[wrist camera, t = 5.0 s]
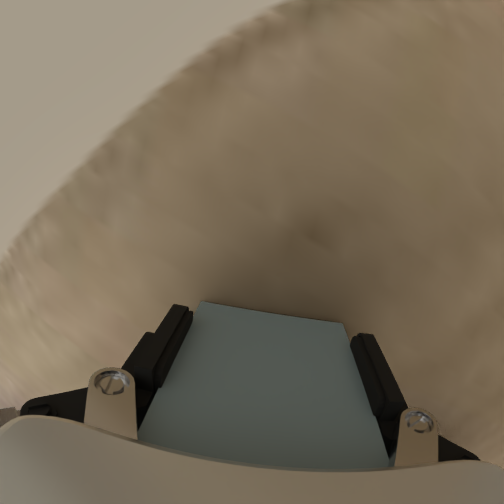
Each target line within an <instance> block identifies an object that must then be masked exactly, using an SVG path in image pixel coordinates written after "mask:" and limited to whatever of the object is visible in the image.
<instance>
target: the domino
mask: <svg viewBox="0 0 504 504" xmlns="http://www.w3.org/2000/svg"><path fill="white" fill-rule="evenodd" d="M138 439H139V440H140V441H143V442H147V443H151V444H155V445H159V446H162V447H166V448H170V449H174V450H179V451H183V452H187V453H192V454H197V455H202V456H207V457H212V458H218V459H224V460H230V461H237V462H244V463H251V464H260V465H269V466H280V467H293V468H313V469H363V468H382V467H388V464H389V458H388V455H387V452H386V448H385V445H384V442H383V439H382V435H381V432H380V429H379V426H378V423H377V420H376V417H375V416H373V413H372V410H371V407H370V404H369V401H368V398H367V395H366V392H365V389H364V386H363V383H362V380H361V377H360V374H359V371H358V368H357V365H356V362H355V360H354V357H353V354H352V351H351V348H350V342H349V339H348V336H347V334H346V331H345V328H344V326H343V323H337V322H329V321H321V320H314V319H307V318H300V317H293V316H286V315H280V314H273V313H267V312H261V311H255V310H249V309H243V308H237V307H231V306H225V305H220V304H214V303H209V302H203V301H201V302H200V304H199V306H198V308H197V310H196V312H195V314H194V316H193V322H192V324H191V327H190V329H189V331H188V333H187V335H186V337H185V339H184V341H183V343H182V345H181V347H180V350H179V352H178V354H177V356H176V358H175V360H174V362H173V364H172V366H171V369H170V371H169V373H168V375H167V377H166V379H165V381H164V383H163V386H162V388H158V390H157V392H156V394H155V397H154V399H153V401H152V403H151V405H150V407H149V409H148V411H147V413H146V416H145V418H144V420H143V422H142V424H141V426H140V428H139V431H138Z"/></svg>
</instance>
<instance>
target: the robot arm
mask: <svg viewBox="0 0 504 504" xmlns="http://www.w3.org/2000/svg"><path fill="white" fill-rule="evenodd" d="M192 322H193V311H189V308H188V307H187V306H182V305H177V304H173V306H172V307H171V309H170V310H169V312H168V313H167V315H166V316H165V318H164V319H163V321H162V322H161V324H160V326H159V327H158V329H157V330H156V332H155V333H151V332H146V333H145V334H144V336H143V337H142V338H141V340H140V341H139V343H138V344H137V346H136V347H135V349H134V350H133V352H132V353H131V354H130V356H129V357H128V359H127V360H126V362H125V363H124V365H123V366H122V368H121V369H120V368H114V367H110V368H103V369H100V370H98V371H96V372H94V374H93V375H92V376H91V377H90V380H89V385H88V387H87V388H83V389H78V390H73V391H69V392H64V393H59V394H54V395H49V396H43V397H38V398H34V399H31V400H29V401H27V402H26V403H25V404H24V405H23V406H22V408H21V410H16V408H15V407H11V408H3V409H0V504H504V470H503V469H502V468H501V467H499V466H498V465H495V464H492V463H489V462H484V461H480V459H479V458H478V457H477V456H476V455H475V454H473V453H471V452H469V451H467V450H466V449H464V448H462V447H460V446H458V445H456V444H454V443H452V442H450V441H449V440H447V439H445V438H443V437H441V436H439V435H438V425H437V421H436V419H435V418H434V416H432V415H431V414H430V413H429V412H427V411H426V410H423V409H420V408H408V406H407V404H406V402H405V400H404V398H403V395H402V393H401V391H400V389H399V387H398V384H397V382H396V380H395V378H394V376H393V374H392V372H391V370H390V367H389V365H388V363H387V361H386V359H385V357H384V355H383V353H382V351H381V349H380V347H379V345H378V343H377V341H376V339H375V337H374V335H373V334H364V333H359V334H358V335H357V336H354V337H353V338H352V340H351V343H350V348H351V351H352V354H353V357H354V360H355V362H356V365H357V368H358V371H359V374H360V377H361V380H362V383H363V386H364V389H365V392H366V395H367V398H368V401H369V404H370V407H371V410H372V413H373V416H375V417H376V420H377V423H378V426H379V429H380V432H381V435H382V439H383V442H384V445H385V448H386V452H387V455H388V458H389V464H388V467H382V468H363V469H313V468H293V467H280V466H269V465H260V464H251V463H244V462H237V461H230V460H224V459H218V458H212V457H207V456H202V455H197V454H192V453H187V452H183V451H179V450H174V449H170V448H166V447H162V446H159V445H155V444H151V443H147V442H143V441H140V440H139V439H138V431H139V428H140V426H141V424H142V422H143V420H144V418H145V416H146V413H147V411H148V409H149V407H150V405H151V403H152V401H153V399H154V397H155V394H156V392H157V390H158V388H162V386H163V383H164V381H165V379H166V377H167V375H168V373H169V371H170V369H171V366H172V364H173V362H174V360H175V358H176V356H177V354H178V352H179V350H180V347H181V345H182V343H183V341H184V339H185V337H186V335H187V333H188V331H189V329H190V327H191V324H192Z"/></svg>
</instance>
